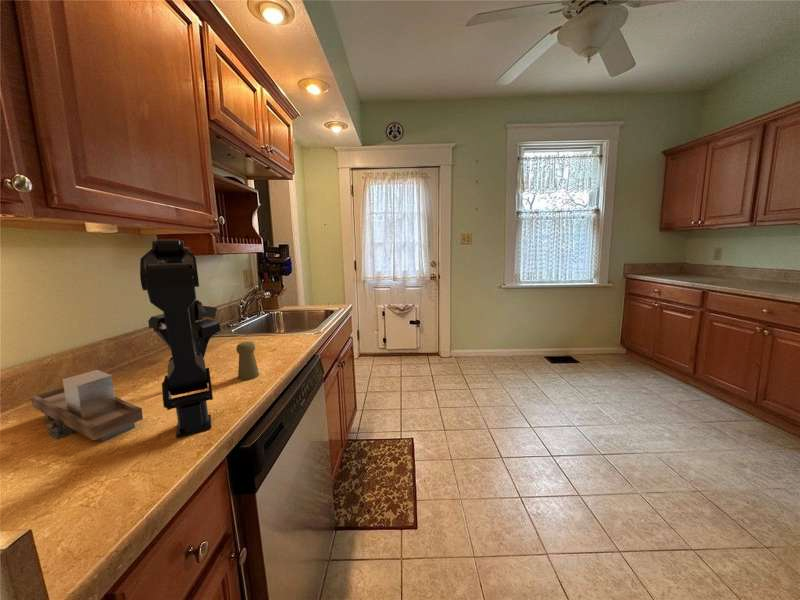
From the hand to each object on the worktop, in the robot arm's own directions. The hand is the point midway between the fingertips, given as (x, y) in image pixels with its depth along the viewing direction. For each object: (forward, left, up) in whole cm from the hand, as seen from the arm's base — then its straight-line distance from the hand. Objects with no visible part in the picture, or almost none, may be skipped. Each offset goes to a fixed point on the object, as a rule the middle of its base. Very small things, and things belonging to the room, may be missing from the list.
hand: (188, 355), depth 84 cm
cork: (+8, -14, -12) cm, 20 cm away
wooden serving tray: (-1, +21, -9) cm, 23 cm away
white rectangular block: (-3, +19, -8) cm, 21 cm away
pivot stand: (-1, +21, -12) cm, 24 cm away
